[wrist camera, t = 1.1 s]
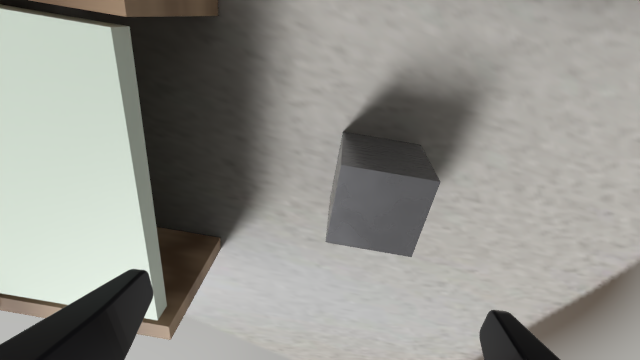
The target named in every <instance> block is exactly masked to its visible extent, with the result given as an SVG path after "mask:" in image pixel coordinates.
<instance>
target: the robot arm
mask: <svg viewBox="0 0 640 360" xmlns="http://www.w3.org/2000/svg"><path fill="white" fill-rule="evenodd" d="M152 299H153V288H152V284H151V281H150V277H149V274H148V272H147V271H146V270H139V269H130V270H128V271H126V272H124V273H122V274H121V275H119V276H117V277H115V278H114V279H112V280H110V281H109V282H107V283H105V284H103V285H102V286H100V287H98V288H97V289H95V290H93V291H91V292H90V293H88V294H86V295H85V296H83V297H81V298H79V299H78V300H76V301H74V302H73V303H71V304H69V305H67V306H66V307H64V308H62V309H60V310H59V311H57V312H55V313H54V314H52V315H50V316H48V317H47V318H45V319H44V320H42V321H40V322H38V323H36V324H35V325H33V326H31V327H30V328H28V329H26V330H24V331H23V332H21V333H19V334H18V335H16V336H14V337H12V338H11V339H9V340H7V341H6V342H4V343H2V344H0V360H124V359H125V357H126V355H127V353H128V351H129V349H130V347H131V345H132V343H133V340H134V338H135V336H136V334H137V332H138V330H139V328H140V325H141V323H142V321H143V319H144V317H145V315H146V312H147V310H148V308H149V306H150V304H151V302H152ZM480 342H481V347H482V352H483V356H484V360H560V359H559V358H558V357H557V356H556V355H555V354H554V353H553V352H551V351H550V350H549V349H548V348H547V347H546V346H545V345H544V344H543V343H542V342H540V340H538V339H537V338H536V337H535V336H534V335H533V334H532V333H531V332H530V331H529V330H528V329H527V328H526V327H524V326H523V325H522V324H521V323H520V322H519V321H518V320H517V319H516V318H515V317H514V316H513V315H511V314H510V313H509V312H506V311H499V310H491V311H490V312H489V313H488V315H487V317H486V319H485V321H484V323H483V325H482V327H481V329H480Z"/></svg>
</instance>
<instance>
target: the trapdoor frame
mask: <svg viewBox="0 0 640 360" xmlns="http://www.w3.org/2000/svg"><path fill="white" fill-rule="evenodd" d="M30 1H36V2H42V3H48V4H53V5H59V6H65V7H71V8H77V9H83V10H89V11H95V12H101V13H106V14H112V15H118V16H124V17H165V16H218V0H30ZM156 228H157V235H158V243H159V250H160V258H161V265H162V272H163V280H164V287H165V295H166V302H167V307H166V308H165V310H164V311H163V313H162V315H161V316H160V318H159V319H158V320H152V319H146V318H144V319H143V321H142V323H141V325H140V328H139V330H138V332H137V334H140V335H146V336H152V337H157V338H163V339H169V340H170V339H171V338H172V336H173V335H174V333H175V331H176V329H177V327H178V326H179V323H180V322H181V320H182V318H183V316H184V315H185V313H186V311H187V309H188V307H189V306H190V304H191V302H192V300H193V298H194V296H195V295H196V293H197V291H198V289H199V287H200V286H201V284H202V282H203V280H204V278H205V276H206V275H207V273H208V271H209V269H210V267H211V266H212V264H213V262H214V260H215V258H216V256H217V255H218V253H219V251H220V249H221V248H220V238H219V237H213V236H207V235H202V234H196V233H190V232H184V231H178V230H173V229H167V228H161V227H156ZM66 306H67V305H66V304H60V303H54V302H48V301H43V300H37V299H31V298H25V297H20V296H14V295H8V294H2V293H0V310H2V311H8V312H13V313H19V314H25V315H31V316H36V317H42V318H47V317H48V316H50V315H52V314H54V313H55V312H57V311H59V310H60V309H62V308H64V307H66Z"/></svg>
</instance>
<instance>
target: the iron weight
mask: <svg viewBox="0 0 640 360" xmlns="http://www.w3.org/2000/svg"><path fill="white" fill-rule="evenodd" d="M439 184H440V180H439V178H438V176H437V175H436V173H435V171H434V169H433V167H432V165H431V164H430V162H429V160H428V158H427V156H426V154H425V152H424V151H423V149H422V147H421V145H417V144H412V143H406V142H400V141H394V140H388V139H382V138H376V137H371V136H365V135H359V134H353V133H347V132H343V135H342V140H341V145H340V150H339V155H338V160H337V166H336V171H335V176H334V181H333V186H332V191H331V197H330V205H329V215H328V224H327V233H326V242H327V243H333V244H339V245H345V246H350V247H356V248H362V249H368V250H374V251H379V252H385V253H391V254H397V255H403V256H408V257H412V254H413V252H414V249H415V246H416V244H417V241H418V239H419V236H420V233H421V231H422V228H423V226H424V223H425V220H426V218H427V215H428V213H429V210H430V208H431V205H432V202H433V200H434V197H435V195H436V192H437V189H438V187H439Z"/></svg>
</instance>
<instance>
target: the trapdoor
mask: <svg viewBox="0 0 640 360" xmlns="http://www.w3.org/2000/svg"><path fill="white" fill-rule="evenodd" d="M130 269H139V270H146V271H147V272H148V274H149V277H150V281H151V284H152V288H153V299H152V302H151V304H150V306H149V308H148V310H147V312H146V315H145V317H144V318H146V319H152V320H158V319H159V318H160V316H161V315H162V313H163V311H164V310H165V308H166V307H167V302H166V295H165V287H164V280H163V272H162V265H161V258H160V250H159V243H158V235H157V228H156V220H155V213H154V205H153V198H152V191H151V183H150V176H149V168H148V161H147V153H146V146H145V138H144V131H143V124H142V116H141V109H140V101H139V94H138V86H137V79H136V71H135V64H134V57H133V49H132V42H131V34H130V27H129V26H124V25H119V24H113V23H107V22H101V21H95V20H89V19H83V18H77V17H71V16H66V15H60V14H54V13H48V12H42V11H36V10H30V9H24V8H18V7H13V6H7V5H1V4H0V293H2V294H8V295H14V296H20V297H25V298H31V299H37V300H43V301H48V302H54V303H60V304H66V305H69V304H71V303H73V302H74V301H76V300H78V299H79V298H81V297H83V296H85V295H86V294H88V293H90V292H91V291H93V290H95V289H97V288H98V287H100V286H102V285H103V284H105V283H107V282H109V281H110V280H112V279H114V278H115V277H117V276H119V275H121V274H122V273H124V272H126V271H128V270H130Z"/></svg>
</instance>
